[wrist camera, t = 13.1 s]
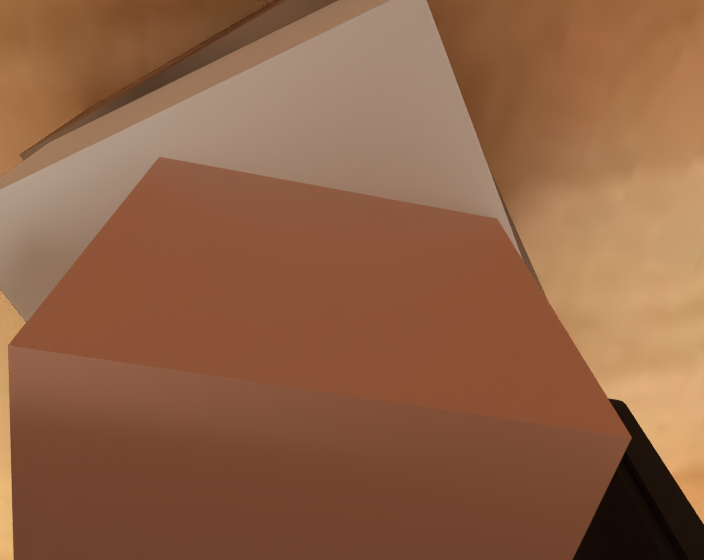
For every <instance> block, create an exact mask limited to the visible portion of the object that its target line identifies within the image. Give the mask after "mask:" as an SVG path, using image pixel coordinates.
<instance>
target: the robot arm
mask: <svg viewBox="0 0 704 560" xmlns="http://www.w3.org/2000/svg"><path fill="white" fill-rule="evenodd" d="M609 401H610V403H611V404H612V406H613V408H614V409H615V411H616V412H617V414H618V416H619V417H620V419H621V421H622V422H623V424H624V425H625V427H626V429H627V430H628V432H629V434H630V435H631V437H632V438H631V440H630V442H629V444H628V447H627V449H626V451H625V453H624V455H623V457H622V459H621V461H620V463H619V465H618V467H617V469H616V471H615V473H614V475H613V477H612V479H611V481H610V484H609V486H608V488H607V490H606V492H605V494H604V496H603V498H602V500H601V502H600V504H599V506H598V508H597V510H596V512H595V514H594V516H593V518H592V521H591V523H590V525H589V527H588V529H587V531H586V533H585V535H584V537H583V539H582V541H581V543H580V545H579V547H578V549H577V551H576V553H575V555H574V558H573V560H704V524H703V523H702V521H701V520H700V518H699V517H698V515H697V514H696V512H695V510H694V509H693V507H692V506H691V504H690V503H689V501H688V500H687V498H686V497H685V495H684V493H683V492H682V490H681V489H680V487H679V486H678V484H677V483H676V481H675V480H674V478H673V476H672V475H671V473H670V472H669V470H668V469H667V467H666V466H665V464H664V463H663V461H662V459H661V458H660V456H659V455H658V453H657V452H656V450H655V449H654V447H653V446H652V444H651V442H650V441H649V439H648V438H647V436H646V435H645V433H644V432H643V430H642V429H641V427H640V426H639V424H638V422H637V421H636V419H635V418H634V416H633V415H632V413H631V412H630V410H629V409H628V407H627V405H626V404H625V403H624V402H623V401H620V400H614V399H609Z"/></svg>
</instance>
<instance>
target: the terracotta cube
mask: <svg viewBox="0 0 704 560" xmlns="http://www.w3.org/2000/svg"><path fill="white" fill-rule="evenodd" d="M8 359H9V397H10V435H11V473H12V511H13V549H14V560H573V558H574V555H575V553H576V551H577V549H578V547H579V545H580V543H581V541H582V539H583V537H584V535H585V533H586V531H587V529H588V527H589V525H590V523H591V521H592V518H593V516H594V514H595V512H596V510H597V508H598V506H599V504H600V502H601V500H602V498H603V496H604V494H605V492H606V490H607V488H608V486H609V484H610V481H611V479H612V477H613V475H614V473H615V471H616V469H617V467H618V465H619V463H620V461H621V459H622V457H623V455H624V453H625V451H626V449H627V447H628V444H629V442H630V440H631V438H632V437H631V435H630V434H629V432H628V430H627V429H626V427H625V425H624V424H623V422H622V421H621V419H620V417H619V416H618V414H617V412H616V411H615V409H614V408H613V406H612V404H611V403H610V401H609V399H608V398H607V396H606V395H605V393H604V391H603V390H602V388H601V386H600V385H599V383H598V382H597V380H596V378H595V377H594V375H593V373H592V372H591V370H590V369H589V367H588V365H587V364H586V362H585V360H584V359H583V357H582V356H581V354H580V352H579V351H578V349H577V347H576V346H575V344H574V343H573V341H572V339H571V338H570V336H569V334H568V333H567V331H566V330H565V328H564V326H563V325H562V323H561V321H560V320H559V318H558V317H557V315H556V313H555V312H554V310H553V308H552V307H551V305H550V304H549V302H548V300H547V299H546V297H545V295H544V294H543V292H542V291H541V289H540V287H539V286H538V284H537V282H536V281H535V279H534V278H533V276H532V274H531V273H530V271H529V269H528V268H527V266H526V265H525V263H524V261H523V260H522V258H521V256H520V255H519V253H518V252H517V250H516V248H515V247H514V245H513V243H512V242H511V240H510V239H509V237H508V235H507V234H506V232H505V230H504V229H503V227H502V226H501V224H500V222H499V221H498V219H496V218H490V217H485V216H480V215H474V214H469V213H463V212H458V211H452V210H447V209H441V208H436V207H431V206H425V205H420V204H414V203H409V202H403V201H398V200H392V199H387V198H382V197H376V196H371V195H365V194H360V193H354V192H349V191H343V190H338V189H333V188H327V187H322V186H316V185H311V184H305V183H300V182H294V181H289V180H284V179H278V178H273V177H267V176H262V175H256V174H251V173H245V172H240V171H235V170H229V169H224V168H218V167H213V166H207V165H202V164H196V163H191V162H186V161H180V160H175V159H169V158H164V157H159V158H158V159H157V160H156V161H155V163H154V164H153V165H152V166H151V168H150V169H149V170H148V171H147V173H146V174H145V175H144V176H143V178H142V179H141V180H140V181H139V183H138V184H137V185H136V186H135V188H134V189H133V190H132V191H131V193H130V194H129V195H128V196H127V198H126V199H125V200H124V201H123V203H122V204H121V205H120V206H119V208H118V209H117V210H116V211H115V213H114V214H113V215H112V216H111V218H110V219H109V220H108V221H107V223H106V224H105V225H104V226H103V228H102V229H101V230H100V231H99V233H98V234H97V235H96V236H95V238H94V239H93V240H92V241H91V243H90V244H89V245H88V246H87V248H86V249H85V250H84V251H83V253H82V254H81V255H80V256H79V258H78V259H77V260H76V261H75V263H74V264H73V265H72V266H71V268H70V269H69V270H68V271H67V273H66V274H65V275H64V276H63V278H62V279H61V280H60V281H59V283H58V284H57V285H56V286H55V288H54V289H53V290H52V291H51V293H50V294H49V295H48V296H47V298H46V299H45V300H44V301H43V302H42V304H41V305H40V306H39V307H38V309H37V310H36V311H35V312H34V314H33V315H32V316H31V317H30V319H29V320H28V321H27V322H26V324H25V325H24V326H23V327H22V329H21V330H20V331H19V332H18V334H17V335H16V336H15V337H14V339H13V340H12V341H11V342H10V344H9V345H8Z"/></svg>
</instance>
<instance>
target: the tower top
mask: <svg viewBox="0 0 704 560" xmlns="http://www.w3.org/2000/svg"><path fill="white" fill-rule="evenodd" d="M159 157H164V158H169V159H175V160H180V161H186V162H191V163H196V164H202V165H207V166H213V167H218V168H224V169H229V170H235V171H240V172H245V173H251V174H256V175H262V176H267V177H273V178H278V179H284V180H289V181H294V182H300V183H305V184H311V185H316V186H322V187H327V188H333V189H338V190H343V191H349V192H354V193H360V194H365V195H371V196H376V197H382V198H387V199H392V200H398V201H403V202H409V203H414V204H420V205H425V206H431V207H436V208H441V209H447V210H452V211H458V212H463V213H469V214H474V215H480V216H485V217H490V218H496V219H498V221H499V222H500V224H501V226H502V227H503V229H504V230H505V232H506V234H507V235H508V237H509V239H510V240H511V242H512V243H513V245H514V247H515V248H516V250H517V252H518V253H519V255H520V256H521V253H520V251H519V248H518V245H517V243H516V240H515V237H514V235H513V232H512V229H511V226H510V224H509V221H508V218H507V216H506V213H505V210H504V208H503V205H502V202H501V199H500V197H499V194H498V191H497V189H496V186H495V183H494V181H493V178H492V175H491V173H490V170H489V167H488V164H487V162H486V159H485V156H484V154H483V151H482V148H481V146H480V143H479V140H478V137H477V135H476V132H475V129H474V127H473V124H472V121H471V119H470V116H469V113H468V110H467V108H466V105H465V102H464V100H463V97H462V94H461V92H460V89H459V86H458V83H457V81H456V78H455V75H454V73H453V70H452V67H451V65H450V62H449V59H448V56H447V54H446V51H445V48H444V46H443V43H442V40H441V38H440V35H439V32H438V29H437V27H436V24H435V21H434V19H433V16H432V13H431V11H430V8H429V5H428V2H427V0H338V1H336V2H334V3H332V4H330V5H328V6H326V7H324V8H322V9H320V10H318V11H316V12H314V13H311V14H309V15H307V16H305V17H303V18H301V19H299V20H297V21H295V22H293V23H291V24H289V25H287V26H285V27H283V28H281V29H279V30H277V31H275V32H273V33H271V34H269V35H267V36H265V37H263V38H261V39H259V40H257V41H255V42H253V43H250V44H248V45H246V46H244V47H242V48H240V49H238V50H236V51H234V52H232V53H230V54H228V55H226V56H224V57H222V58H220V59H218V60H216V61H214V62H212V63H210V64H208V65H206V66H204V67H202V68H200V69H198V70H196V71H194V72H192V73H189V74H187V75H185V76H183V77H181V78H179V79H177V80H175V81H173V82H171V83H169V84H167V85H165V86H163V87H161V88H159V89H157V90H155V91H153V92H151V93H149V94H147V95H145V96H143V97H141V98H139V99H137V100H135V101H133V102H130V103H128V104H126V105H124V106H122V107H120V108H118V109H116V110H114V111H112V112H110V113H108V114H106V115H104V116H102V117H100V118H98V119H96V120H94V121H92V122H90V123H88V124H86V125H84V126H82V127H80V128H78V129H76V130H74V131H72V132H69V133H67V134H65V135H63V136H61V137H59V138H57V139H55V140H53V141H51V142H49V143H48V144H47V145H45V146H44V147H42V148H41V149H39V150H38V151H37V152H35V153H34V154H32V155H31V156H30V157H28V158H27V159H25V160H24V161H22V162H21V163H20V164H18V165H17V166H15V167H14V168H13V169H11V170H10V171H8V172H7V173H5V174H4V175H3V176H1V177H0V290H1V291H2V292H3V293H4V295H5V296H6V297H7V299H8V300H9V301H10V302H11V304H12V305H13V306H14V307H15V309H16V310H17V311H18V313H19V314H20V315H21V316H22V318H23V319H24V320H25V322H27V321H28V320H29V319H30V317H31V316H32V315H33V314H34V312H35V311H36V310H37V309H38V307H39V306H40V305H41V304H42V302H43V301H44V300H45V299H46V298H47V296H48V295H49V294H50V293H51V291H52V290H53V289H54V288H55V286H56V285H57V284H58V283H59V281H60V280H61V279H62V278H63V276H64V275H65V274H66V273H67V271H68V270H69V269H70V268H71V266H72V265H73V264H74V263H75V261H76V260H77V259H78V258H79V256H80V255H81V254H82V253H83V251H84V250H85V249H86V248H87V246H88V245H89V244H90V243H91V241H92V240H93V239H94V238H95V236H96V235H97V234H98V233H99V231H100V230H101V229H102V228H103V226H104V225H105V224H106V223H107V221H108V220H109V219H110V218H111V216H112V215H113V214H114V213H115V211H116V210H117V209H118V208H119V206H120V205H121V204H122V203H123V201H124V200H125V199H126V198H127V196H128V195H129V194H130V193H131V191H132V190H133V189H134V188H135V186H136V185H137V184H138V183H139V181H140V180H141V179H142V178H143V176H144V175H145V174H146V173H147V171H148V170H149V169H150V168H151V166H152V165H153V164H154V163H155V161H156V160H157V159H158V158H159ZM521 258H522V256H521ZM522 260H523V259H522Z"/></svg>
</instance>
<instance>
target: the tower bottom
mask: <svg viewBox="0 0 704 560" xmlns="http://www.w3.org/2000/svg"><path fill="white" fill-rule="evenodd" d="M336 1H338V0H275V1H273V2H272V3H270V4H268V5H266V6H265V7H263V8H261V9H260V10H258V11H256V12H254V13H253V14H251V15H249V16H248V17H246V18H244V19H242V20H241V21H239V22H237V23H235V24H234V25H232V26H230V27H229V28H227V29H225V30H223V31H222V32H220V33H218V34H217V35H215V36H213V37H211V38H210V39H208V40H206V41H204V42H203V43H201V44H199V45H198V46H196V47H194V48H192V49H191V50H189V51H187V52H186V53H184V54H182V55H180V56H179V57H177V58H175V59H173V60H172V61H170V62H168V63H167V64H165V65H163V66H161V67H160V68H158V69H156V70H155V71H153V72H151V73H149V74H148V75H146V76H144V77H142V78H141V79H139V80H137V81H136V82H134V83H132V84H130V85H129V86H127V87H125V88H124V89H122V90H120V91H118V92H117V93H115V94H113V95H111V96H110V97H108V98H106V99H105V100H103V101H101V102H99V103H98V104H96V105H94V106H93V107H91V108H89V109H87V110H86V111H84V112H82V113H81V114H79V115H78V116H76V117H75V118H73V119H72V120H70V121H69V122H68V123H66V124H65V125H63V126H62V127H60V128H59V129H57V130H56V131H54V132H53V133H51V134H50V135H48V136H47V137H45V138H44V139H42V140H41V141H39V142H38V143H36V144H35V145H33V146H32V147H30V148H29V149H28V150H26V151H25V152H23V153H22V154H20V156H21V157H22V159H23V160H25V159H27V158H28V157H30V156H31V155H32V154H34V153H35V152H37V151H38V150H39V149H41V148H42V147H44V146H45V145H47V144H48V143H49V142H51V141H53V140H55V139H57V138H59V137H61V136H63V135H65V134H67V133H69V132H72V131H74V130H76V129H78V128H80V127H82V126H84V125H86V124H88V123H90V122H92V121H94V120H96V119H98V118H100V117H102V116H104V115H106V114H108V113H110V112H112V111H114V110H116V109H118V108H120V107H122V106H124V105H126V104H128V103H130V102H133V101H135V100H137V99H139V98H141V97H143V96H145V95H147V94H149V93H151V92H153V91H155V90H157V89H159V88H161V87H163V86H165V85H167V84H169V83H171V82H173V81H175V80H177V79H179V78H181V77H183V76H185V75H187V74H189V73H192V72H194V71H196V70H198V69H200V68H202V67H204V66H206V65H208V64H210V63H212V62H214V61H216V60H218V59H220V58H222V57H224V56H226V55H228V54H230V53H232V52H234V51H236V50H238V49H240V48H242V47H244V46H246V45H248V44H250V43H253V42H255V41H257V40H259V39H261V38H263V37H265V36H267V35H269V34H271V33H273V32H275V31H277V30H279V29H281V28H283V27H285V26H287V25H289V24H291V23H293V22H295V21H297V20H299V19H301V18H303V17H305V16H307V15H309V14H311V13H314V12H316V11H318V10H320V9H322V8H324V7H326V6H328V5H330V4H332V3H334V2H336ZM490 173H491V172H490ZM491 175H492V174H491ZM492 178H493V177H492ZM493 181H494V179H493ZM494 183H495V181H494ZM495 186H496V183H495ZM496 189H497V191H498V194H499V197H500V199H501V202H502V205H503V208H504V210H505V213H506V216H507V218H508V221H509V224H510V226H511V229H512V232H513V235H514V237H515V240H516V243H517V245H518V248H519V251H520V253H521V256H522V259H523V261H524V263H525V265H526V266H527V268H528V269H529V271H530V273H531V274H532V276H533V278H534V279H535V281H536V282H537V284H538V286H539V287H540V289H541V291H542V292H543V294H544V291H543V289H542V287H541V285H540V282H539V280H538V278H537V276H536V273H535V271H534V269H533V267H532V264H531V262H530V260H529V258H528V255H527V253H526V251H525V249H524V246H523V244H522V242H521V240H520V237H519V235H518V233H517V231H516V228H515V226H514V224H513V222H512V219H511V217H510V215H509V213H508V210H507V208H506V206H505V204H504V201H503V199H502V197H501V195H500V192H499V190H498V188H497V186H496ZM544 295H545V294H544ZM545 297H546V296H545ZM546 299H547V298H546Z"/></svg>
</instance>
